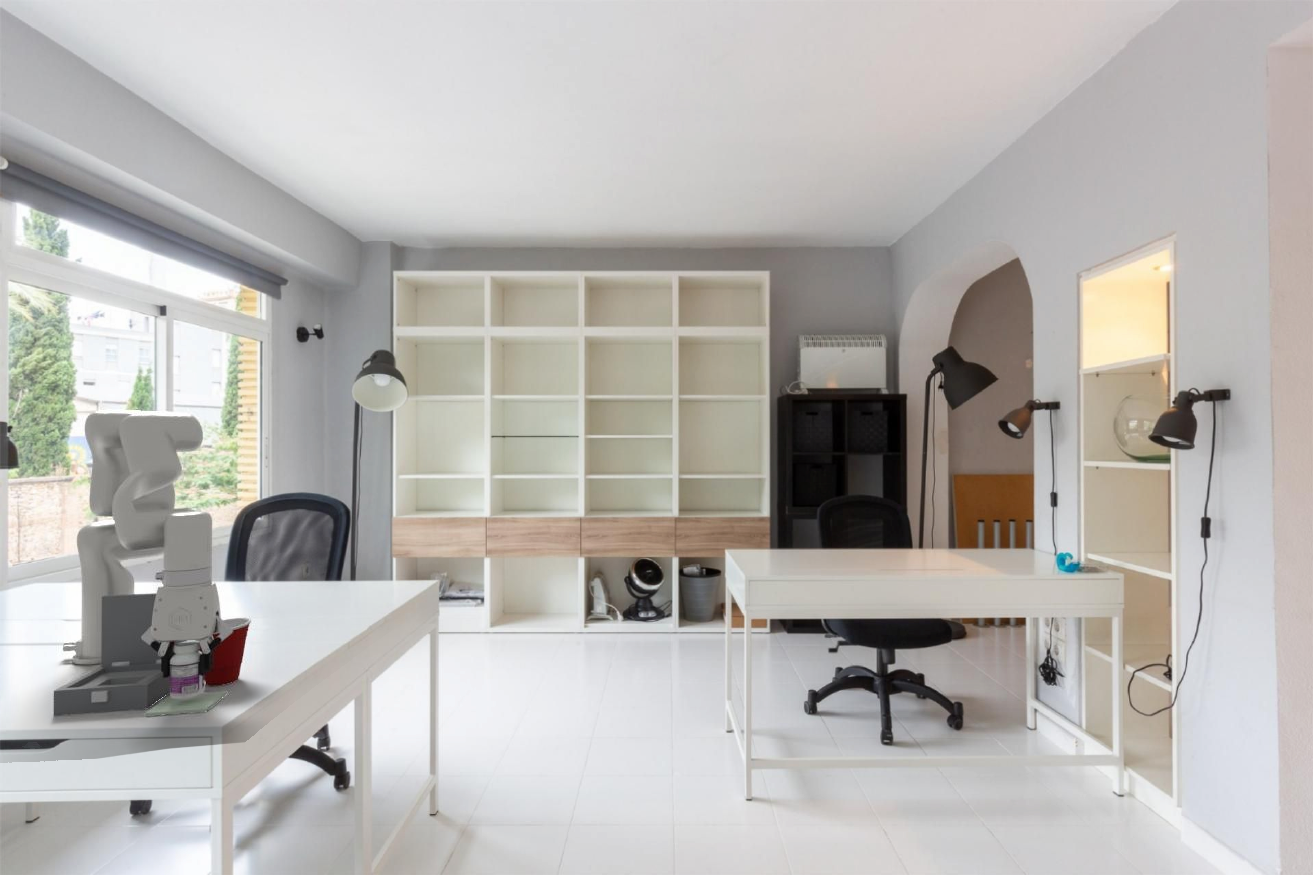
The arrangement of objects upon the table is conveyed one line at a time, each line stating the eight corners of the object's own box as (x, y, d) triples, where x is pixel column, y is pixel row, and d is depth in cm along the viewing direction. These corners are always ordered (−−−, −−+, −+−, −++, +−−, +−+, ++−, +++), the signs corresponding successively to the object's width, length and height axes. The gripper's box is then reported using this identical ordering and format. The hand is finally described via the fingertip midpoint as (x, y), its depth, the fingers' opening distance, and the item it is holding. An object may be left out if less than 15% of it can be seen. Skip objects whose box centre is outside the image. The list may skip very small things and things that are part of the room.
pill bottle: (181, 690, 129) (181, 639, 129) (210, 689, 129) (210, 638, 130) (162, 700, 124) (163, 647, 124) (193, 699, 124) (193, 647, 124)
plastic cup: (197, 676, 142) (197, 619, 143) (256, 670, 146) (256, 614, 147) (182, 694, 132) (182, 632, 132) (245, 686, 136) (245, 627, 136)
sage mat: (144, 716, 121) (144, 713, 121) (170, 698, 130) (170, 695, 130) (206, 712, 123) (206, 708, 123) (227, 694, 132) (227, 691, 132)
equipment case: (51, 717, 121) (52, 613, 121) (104, 687, 136) (104, 595, 137) (145, 710, 124) (145, 609, 124) (186, 681, 139) (187, 591, 140)
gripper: (124, 583, 122) (124, 684, 121) (229, 579, 125) (229, 677, 125) (147, 575, 129) (146, 671, 129) (246, 572, 132) (245, 665, 132)
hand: (187, 673), depth 127 cm, fingers closed on pill bottle, 5 cm apart
